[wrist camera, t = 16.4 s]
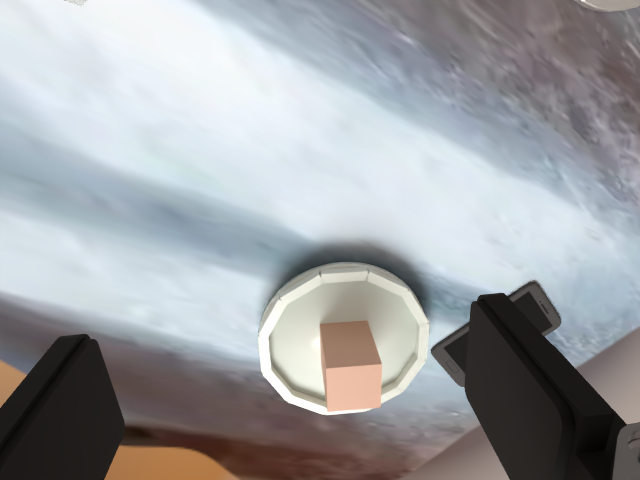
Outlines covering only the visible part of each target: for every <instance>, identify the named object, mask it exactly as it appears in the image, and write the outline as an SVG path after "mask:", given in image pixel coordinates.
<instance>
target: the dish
mask: <svg viewBox="0 0 640 480" xmlns="http://www.w3.org/2000/svg"><path fill="white" fill-rule="evenodd" d="M353 321H368V324H369V327H370V330H371V333H372V336H373V339H374V341H375V344H376V347H377V350H378V353H379V356H380V359H381V362H382V383H381V403H383V402H385V401H387V400H389V399H391V398H393V397H395V396H397V395H398V394H400V393H402V391H404V390H405V389H406V387H407V386H408V385H409V383H410V382H411V381H412V379H413V378H414V377H415V375H416V374H417V373H418V371H419V370H420V368H421V367H422V366H423V364H424V363H425V362H426V359H427V349H428V337H429V325H430V324H429V321H428V319H427V318H426V316H425V314H424V311H423V309H422V307H421V305H420V303H419V301H418V299H417V297H416V296H415V294H414V293H413V291H412V290H411V289H410V288H409V286H408V285H407V284H406V283H405V282H404V281H402V280H401V279H400V278H398V277H397V276H396V275H394V274H392V273H391V272H389V271H387V270H385V269H382V268H380V267H377V266H374V265H370V264H366V263H359V262H337V263H329V264H325V265H321V266H318V267H315V268H312V269H310V270H307V271H305V272H303V273H301V274H299V275H297V276H296V277H295V278H293V279H292V280H290V281H289V282H287V283H286V284H285V285H284V286H283V287H282V288H281V289H280V290H279V291H278V292H277V293H276V294H275V295H274V296H273V298H272V299H271V301H270V302H269V304H268V305H267V307H266V309H265V311H264V314H263V316H262V319H261V323H260V328H259V331H258V350H259V355H260V361H261V371H262V374H263V375H264V376H265V378H266V379H267V380H268V381H269V382H270V383H271V384H272V386H273V387H274V388H275V389H276V390H277V391H278V392H279V394H280V395H281V396H282V397H283V398H284V399H285V400H286V401H288V402H289V403H291V404H294V405H297V406H300V407H303V408H306V409H309V410H311V411H314V412H317V413H320V414H323V415H324V414H325V415H332V414H343V413H355V412H365V411H366V410H367V411H368V410H370V409H372V408H368V409H357V410H346V411H334V412H327V404H326V397H325V389H324V382H323V374H322V367H321V349H320V324H326V323H340V322H353Z"/></svg>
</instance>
